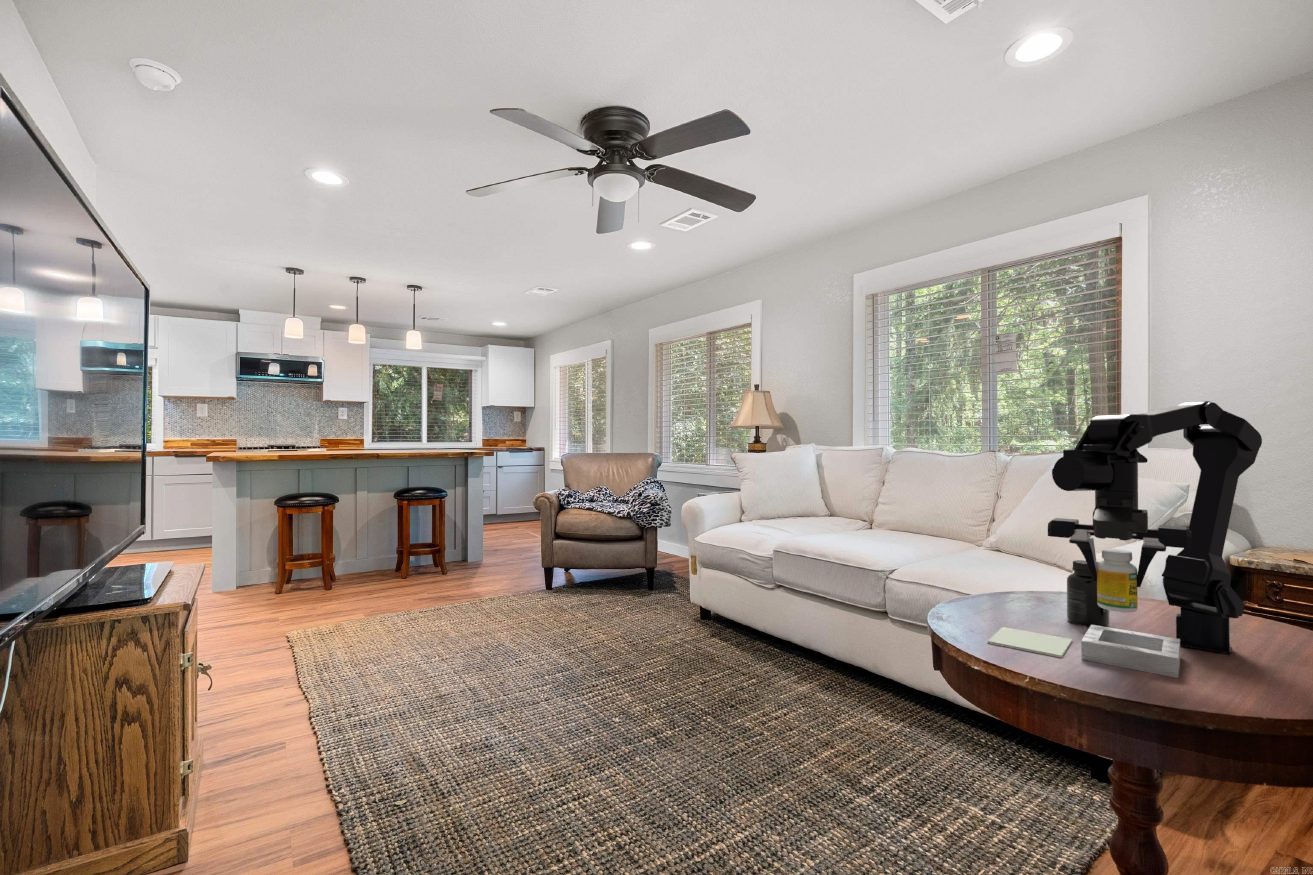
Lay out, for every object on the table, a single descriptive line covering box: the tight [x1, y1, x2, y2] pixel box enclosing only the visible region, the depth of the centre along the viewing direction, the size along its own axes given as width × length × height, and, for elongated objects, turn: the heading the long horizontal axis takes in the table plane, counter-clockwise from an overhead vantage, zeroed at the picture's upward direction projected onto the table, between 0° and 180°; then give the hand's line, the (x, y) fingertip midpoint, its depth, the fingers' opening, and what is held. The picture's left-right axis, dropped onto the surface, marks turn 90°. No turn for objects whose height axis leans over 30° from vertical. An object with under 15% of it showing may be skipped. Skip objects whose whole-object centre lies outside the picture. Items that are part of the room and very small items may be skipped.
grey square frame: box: [1080, 625, 1181, 679], centre depth 99 cm, size 12×12×3 cm
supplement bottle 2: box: [1097, 548, 1139, 614], centre depth 100 cm, size 5×5×10 cm
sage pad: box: [987, 626, 1073, 659], centre depth 107 cm, size 11×11×1 cm
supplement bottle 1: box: [1066, 559, 1110, 628], centre depth 119 cm, size 7×7×12 cm
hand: (1116, 584), depth 100 cm, fingers closed on supplement bottle 2, 5 cm apart
